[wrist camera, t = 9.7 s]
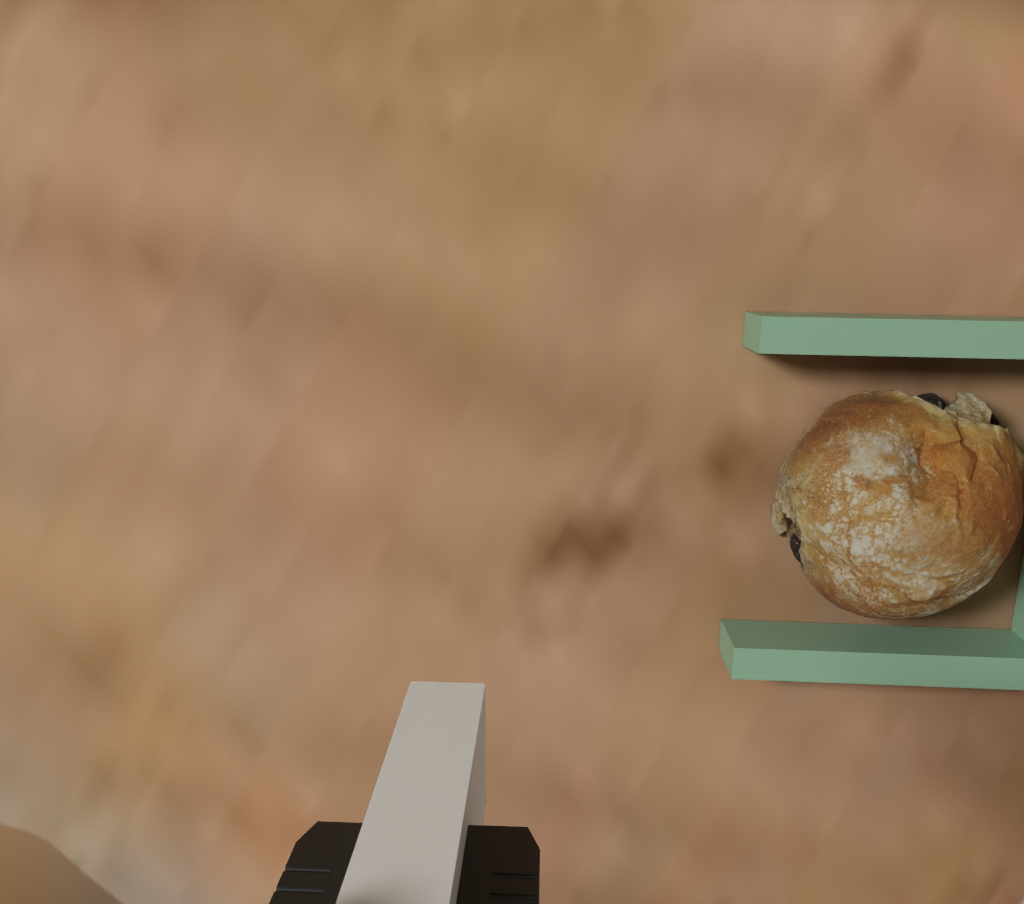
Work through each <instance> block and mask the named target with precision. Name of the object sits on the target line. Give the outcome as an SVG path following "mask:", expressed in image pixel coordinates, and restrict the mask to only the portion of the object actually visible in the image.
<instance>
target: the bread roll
mask: <svg viewBox="0 0 1024 904" xmlns="http://www.w3.org/2000/svg"><path fill="white" fill-rule="evenodd" d="M955 393H956V394H957V396H956V397H954V398H953V399H952V400H953V402H954V403H951V404H949V405H947V406H946V407H945V406H944V403H943V400H942V399H941V398H940V397H938V396H937V395H936V394H933V393H928V394H921V395H918V396H908V395H906V394H905V393H903V392H901V391H900V390H881V391H875V392H867V391H862V392H861V393H860V394H856V395H853V396H850V397H847V398H845V399H842V400H840V401H838V402H835V403H834V404H832V405H830V406H828V407H826V408H824V409H823V410H822V412H821V414H819V415H818V416H817V417H816V418H815V419H814V420H813V422H811V424H810V425H809V426H808V427H806V428H805V429H804V432H803V434H802V435H801V437H800V438H799V440H798V442H797V443H796V444H795V445H794V446H793V447H792V449H791V450H790V452H789V453H788V455H787V456H786V458H785V460H784V462H783V464H782V466H781V468H780V470H779V479H778V487H777V491H776V495H775V498H776V499H777V500H775V501H774V502H773V503H772V505H771V520H772V525H773V527H774V529H775V531H776V533H777V535H778V536H780V535H782V534H785V533H786V535H787V537H788V540H789V542H790V547H791V549H792V551H793V554H794V556H795V558H796V559H797V560H798V561H799V562H800V568H801V569H802V572H803V573H804V575H805V576H806V577H807V579H808V580H809V581H810V583H811V584H812V585H813V586H814V587H815V588H816V590H817V591H818V592H819V593H820V594H821V595H823V596H824V597H825V598H826V599H827V600H829V601H830V602H832V603H833V604H835V605H836V606H838V607H840V608H842V609H845V610H847V611H850V612H852V613H855V614H857V615H861V616H864V617H871V618H883V619H899V620H900V619H905V618H913V617H923V616H927V615H932V614H935V613H937V612H940V611H943V610H946V609H949V608H951V607H952V606H954V605H956V604H958V603H959V602H962V601H964V600H966V599H967V598H968V597H969V596H971V595H972V594H973V593H975V592H976V591H978V590H979V589H980V588H982V587H983V586H985V585H986V584H988V583H989V582H990V581H991V579H992V578H993V577H994V575H995V573H996V572H997V570H998V569H999V567H1000V566H1001V564H1002V563H1003V561H1004V560H1005V559H1006V557H1007V556H1008V554H1009V552H1010V550H1011V548H1012V546H1013V544H1014V542H1015V540H1016V538H1017V536H1018V533H1019V531H1020V528H1021V525H1022V521H1023V513H1024V503H1023V481H1024V479H1023V473H1024V454H1023V453H1022V452H1021V451H1020V449H1019V448H1018V447H1017V446H1016V445H1015V443H1014V442H1013V440H1012V438H1011V435H1010V433H1009V431H1008V428H1006V429H1003V428H1002V427H1001V426H1000V423H999V421H998V420H997V419H996V417H995V416H994V415H993V414H992V410H991V408H990V407H989V406H988V404H986V403H985V402H983V401H981V400H980V399H978V398H977V397H976V396H975V395H974V394H972V393H964V392H955Z"/></svg>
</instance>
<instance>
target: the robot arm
mask: <svg viewBox="0 0 1024 904" xmlns="http://www.w3.org/2000/svg"><path fill="white" fill-rule="evenodd" d="M485 805H486V738H485V684H484V683H450V682H416V681H411V682H410V685H409V688H408V691H407V694H406V697H405V700H404V703H403V706H402V709H401V712H400V715H399V718H398V721H397V724H396V727H395V730H394V733H393V735H392V738H391V741H390V744H389V747H388V750H387V753H386V756H385V759H384V762H383V765H382V768H381V771H380V774H379V777H378V780H377V783H376V786H375V789H374V792H373V795H372V798H371V801H370V803H369V806H368V809H367V812H366V815H365V818H364V821H363V823H346V822H320V821H318V822H317V823H316V824H315V825H314V826H313V827H311V828H310V829H309V830H308V831H307V832H306V833H305V834H304V835H303V836H302V837H301V838H300V839H299V840H298V841H297V842H296V844H295V846H294V848H293V851H292V853H291V855H290V858H289V860H288V862H287V864H286V868H285V871H283V873H282V876H281V878H280V880H279V883H278V885H277V889H276V892H274V894H273V896H272V898H271V901H270V903H269V904H539V872H540V849H539V847H538V845H537V843H536V841H535V840H534V838H533V836H532V834H531V832H530V830H529V828H528V827H509V826H483V821H484V813H485Z"/></svg>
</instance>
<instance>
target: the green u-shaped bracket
mask: <svg viewBox="0 0 1024 904" xmlns="http://www.w3.org/2000/svg"><path fill="white" fill-rule="evenodd" d="M743 347H746V348H748V349H750V350H752V351H754V352H756V353H759V354H801V355H847V356H893V357H940V358H986V359H1024V317H991V316H940V315H888V314H837V313H786V312H745V322H744V334H743ZM719 650H720V652H721V655H722V657H723V660H724V662H725V664H726V667H727V669H728V671H729V674H730V676H731V678H732V679H747V680H773V681H799V682H825V683H851V684H877V685H903V686H929V687H955V688H981V689H1007V690H1024V554H1023V560H1022V566H1021V572H1020V579H1019V585H1018V591H1017V597H1016V603H1015V609H1014V615H1013V621H1012V627H1011V630H1007V629H978V628H950V627H922V626H894V625H865V624H837V623H809V622H780V621H752V620H724V619H721V626H720V639H719Z"/></svg>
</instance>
